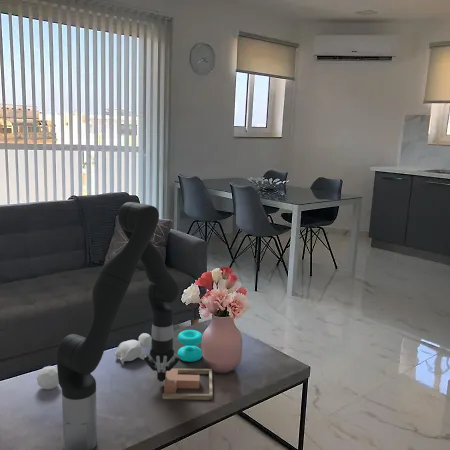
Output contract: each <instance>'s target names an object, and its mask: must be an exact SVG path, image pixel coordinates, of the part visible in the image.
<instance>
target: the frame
mask: <svg viewBox="0 0 450 450" xmlns="http://www.w3.org/2000/svg"><path fill="white" fill-rule="evenodd" d="M172 369H178V374H179V375H208V383H209V385H208V389H209V390H208V391H209V392H208V393H176V394H171V393H164V392H163V393H162V397H161V398H162V400H199V401H200V400H202V401H203V400H205V401H206V400H207V401H208V400H210V401H212V400H213V397H214V396H213V393H214V392H213V371H212V370H213V369H212V368H181V367H179V368H177V367H176V368H174V367H173V368H172ZM166 373H167V371H166Z"/></svg>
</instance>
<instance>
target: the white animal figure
mask: <svg viewBox="0 0 450 450" xmlns="http://www.w3.org/2000/svg"><path fill="white" fill-rule="evenodd" d="M151 339H152V335H150V334H149V333H146V332H145V333H144V332H143V333H141V334H140V335H139V336H138V339H137V340H136V339H129V340H126V341H125V340H124V341H122V342H120V343H119V345H118V346H117V349H116V350H115V352H114V356H115V358H116V360H120V362H121V364H122V365H125V362H131V361H134V360H136V359H137V358H139V359H141V360H143V361H145V360H144V357H145V354H144V353H143V352H142V351H143V349H142V348H144V349H145V348H147V347H149V346H150V345H151Z"/></svg>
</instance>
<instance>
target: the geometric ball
mask: <svg viewBox="0 0 450 450" xmlns="http://www.w3.org/2000/svg"><path fill="white" fill-rule="evenodd" d="M36 380H37V385H38V386H39V387H40V388H41V389H44V390H48V391H49V390H53V389H55V388H56V387H57V386H58V385H59V381H58V370H57V366H56V367H55V366H52V365H48V366H44V367H42V368H41V369H40V370H39V371H38V373H37V377H36Z"/></svg>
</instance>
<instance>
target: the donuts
mask: <svg viewBox="0 0 450 450" xmlns="http://www.w3.org/2000/svg"><path fill="white" fill-rule="evenodd" d="M202 335H203V334H202V332H201V331H198V330H195V329H185V330H183V331H181V332H180V333H179V334H178V335H177V339H178V342H179V343H180V344H182V345H184V346H181V347H180V348H179V349H178V350H177V355H179V356H180V358H179V360H181V361H183V362H186V363H191V362H192V363H194V362H198V361H199V360H200V359H202V357H203V355H202V354H201V350H202V349H201V348H200V347H198V346H197V345H199V344H201V343H202V342H203V340H202ZM201 341H202V342H201Z"/></svg>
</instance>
